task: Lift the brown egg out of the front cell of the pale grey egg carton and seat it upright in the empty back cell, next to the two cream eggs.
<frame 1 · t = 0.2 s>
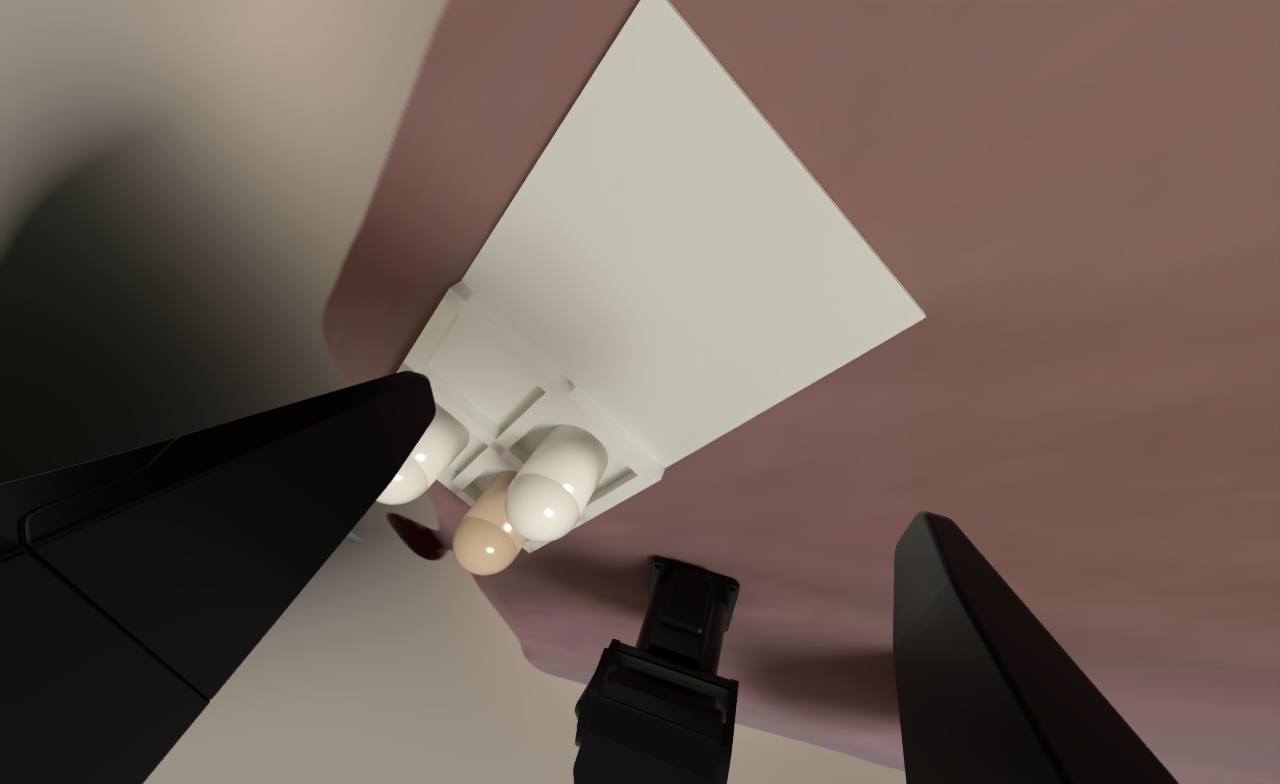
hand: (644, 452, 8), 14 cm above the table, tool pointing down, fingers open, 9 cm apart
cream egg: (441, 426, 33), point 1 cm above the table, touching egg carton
brown egg: (521, 492, 34), point 1 cm above the table, touching egg carton
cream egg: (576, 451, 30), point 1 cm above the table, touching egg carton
egg carton: (510, 433, 32), on the table
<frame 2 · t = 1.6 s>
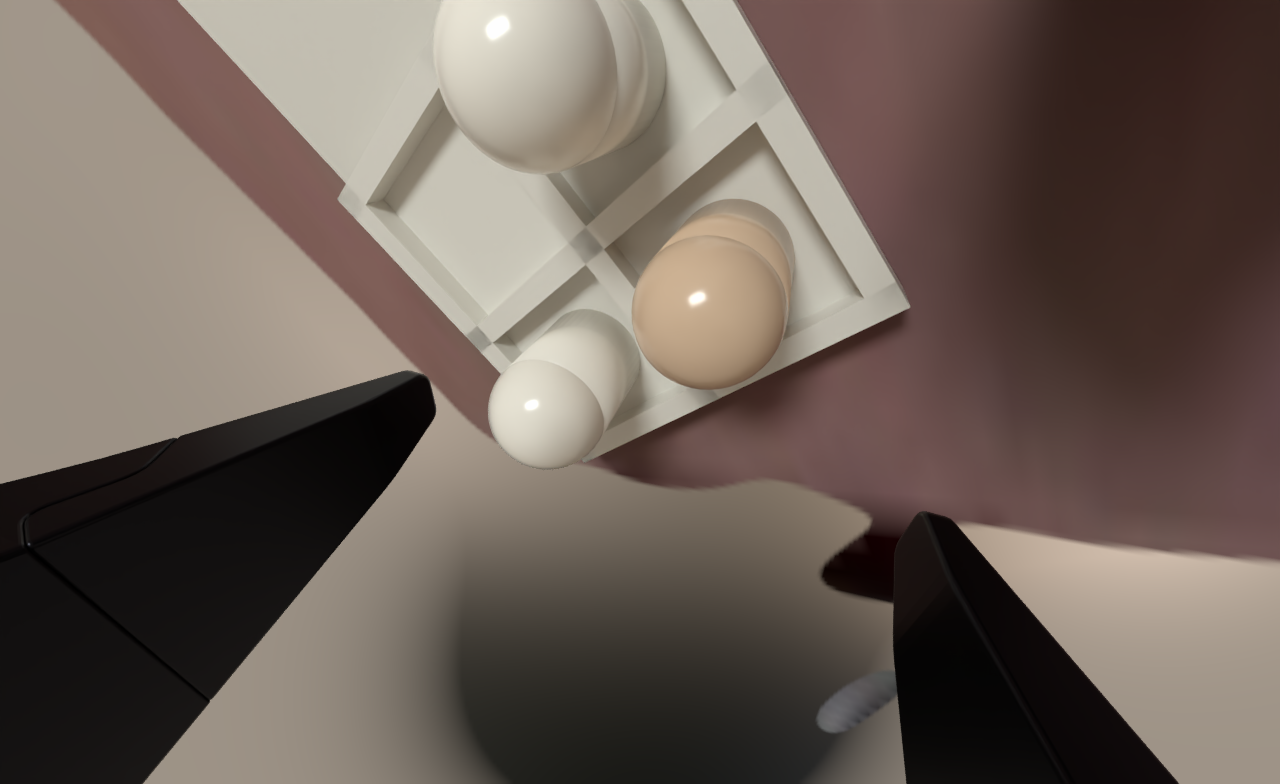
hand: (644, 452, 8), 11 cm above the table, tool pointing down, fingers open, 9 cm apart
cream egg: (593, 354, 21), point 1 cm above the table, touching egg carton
brown egg: (730, 263, 17), point 1 cm above the table, touching egg carton
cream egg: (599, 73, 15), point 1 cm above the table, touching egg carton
egg carton: (601, 234, 18), on the table
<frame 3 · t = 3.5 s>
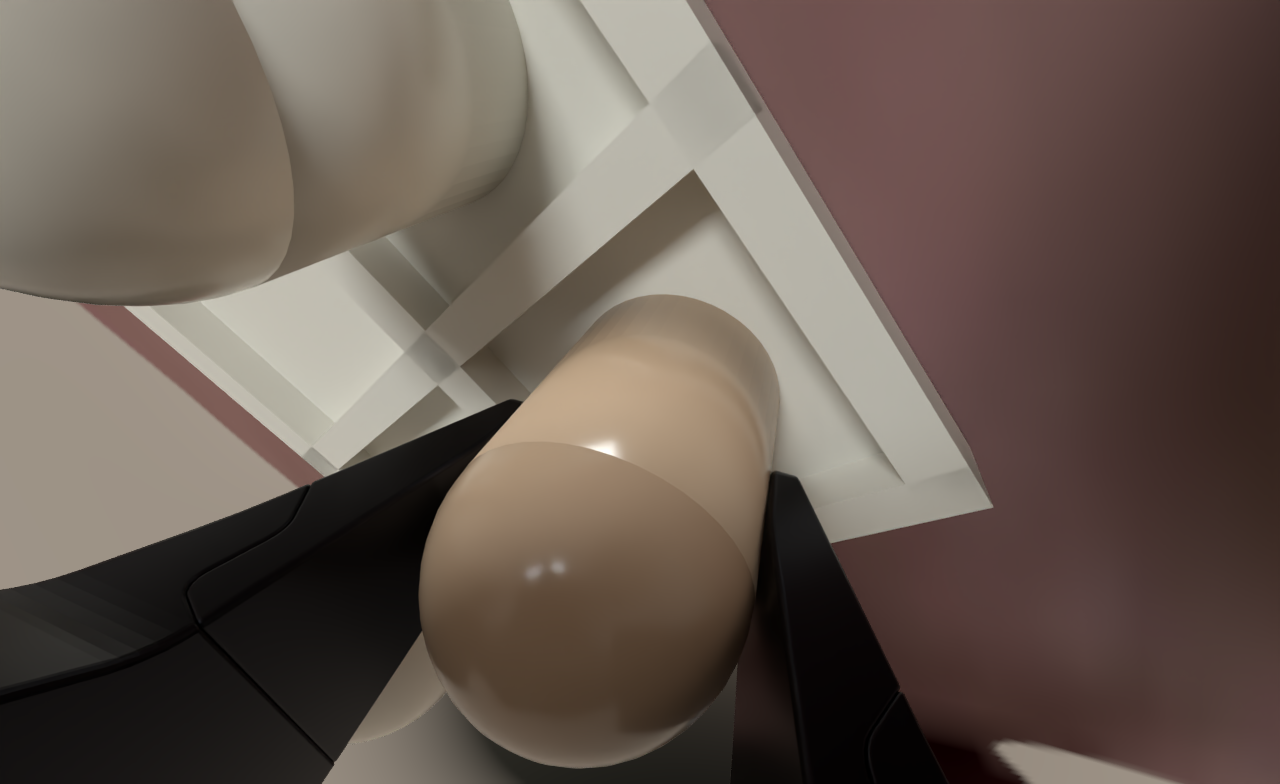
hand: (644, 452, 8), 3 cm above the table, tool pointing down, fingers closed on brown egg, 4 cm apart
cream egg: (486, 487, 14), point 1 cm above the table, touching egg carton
brown egg: (672, 391, 10), point 1 cm above the table, touching egg carton, gripper
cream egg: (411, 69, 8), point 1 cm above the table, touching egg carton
egg carton: (474, 327, 11), on the table
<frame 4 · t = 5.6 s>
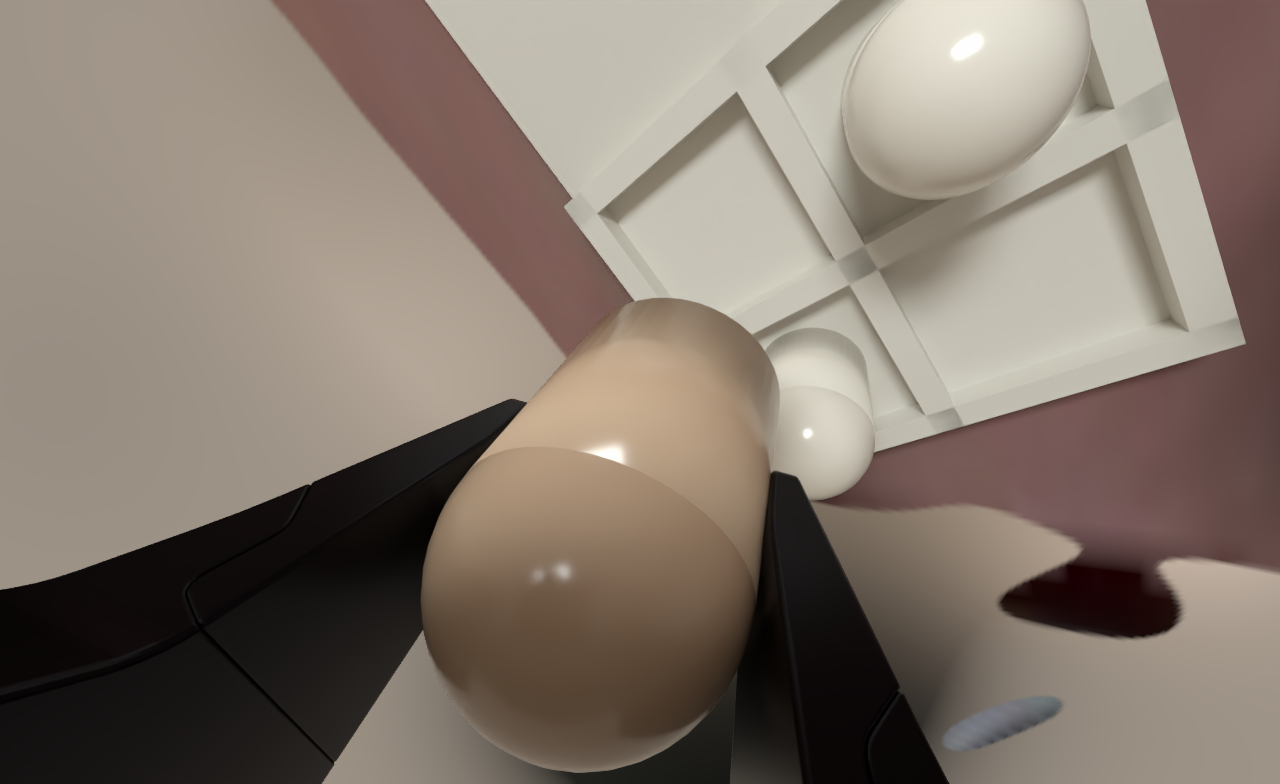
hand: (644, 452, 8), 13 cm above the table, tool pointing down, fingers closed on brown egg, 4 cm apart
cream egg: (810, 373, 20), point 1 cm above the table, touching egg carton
brown egg: (673, 394, 10), point 11 cm above the table, touching gripper
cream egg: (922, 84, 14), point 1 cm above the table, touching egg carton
egg carton: (855, 251, 17), on the table
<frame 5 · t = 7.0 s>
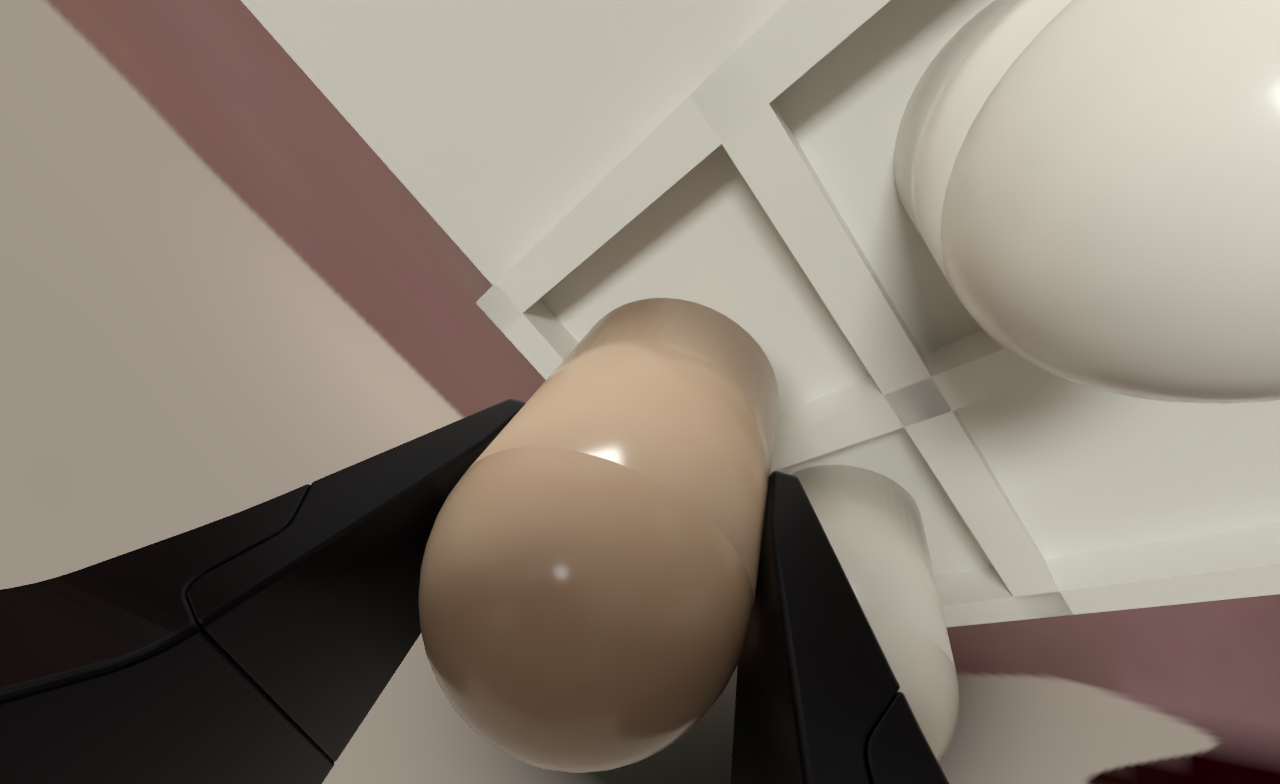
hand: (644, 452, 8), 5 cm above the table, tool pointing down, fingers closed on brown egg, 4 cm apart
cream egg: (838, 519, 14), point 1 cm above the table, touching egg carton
brown egg: (672, 394, 10), point 3 cm above the table, touching gripper
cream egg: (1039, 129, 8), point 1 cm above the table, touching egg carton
egg carton: (906, 366, 11), on the table
when the fingers open (4 cm above the table, at t = 8.1 s): brown egg drops 1 cm, resting on egg carton.
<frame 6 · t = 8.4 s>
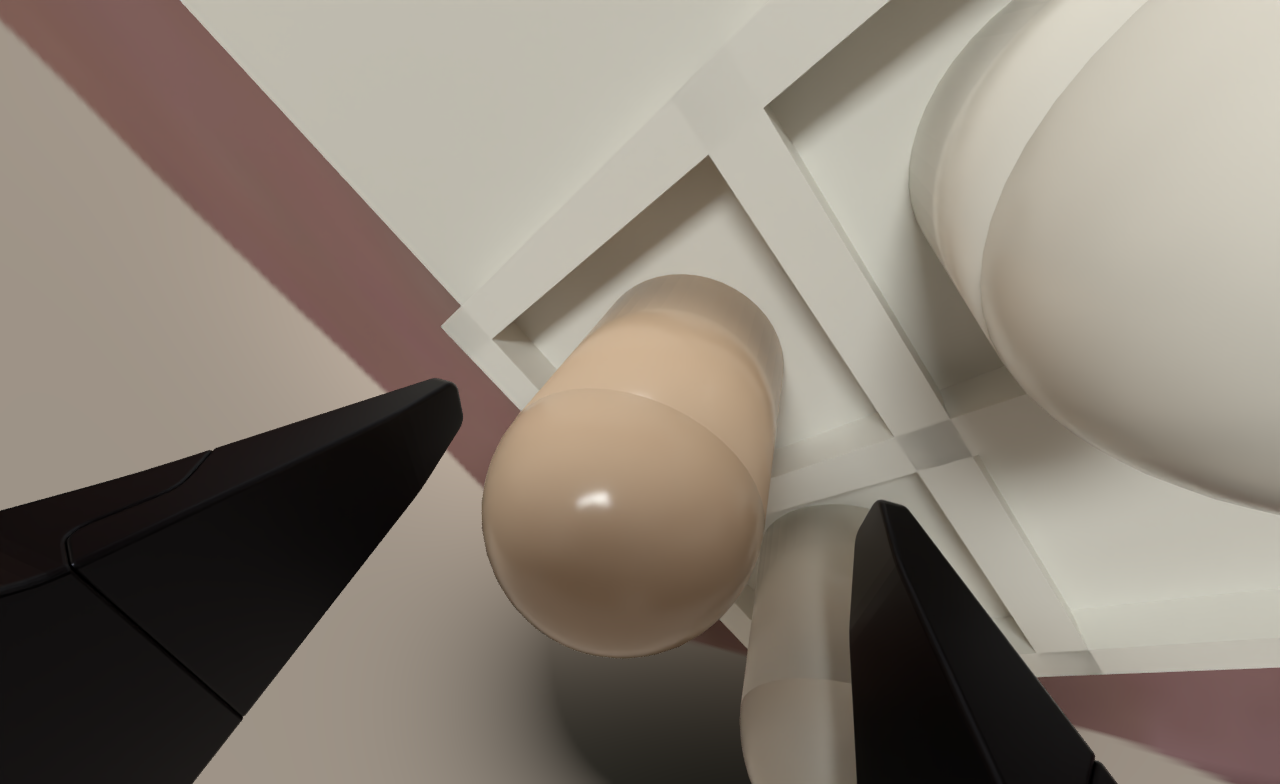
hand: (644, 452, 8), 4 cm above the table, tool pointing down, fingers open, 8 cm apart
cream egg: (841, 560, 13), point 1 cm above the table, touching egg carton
brown egg: (686, 364, 11), point 1 cm above the table, touching egg carton
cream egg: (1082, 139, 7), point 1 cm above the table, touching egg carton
egg carton: (919, 400, 10), on the table
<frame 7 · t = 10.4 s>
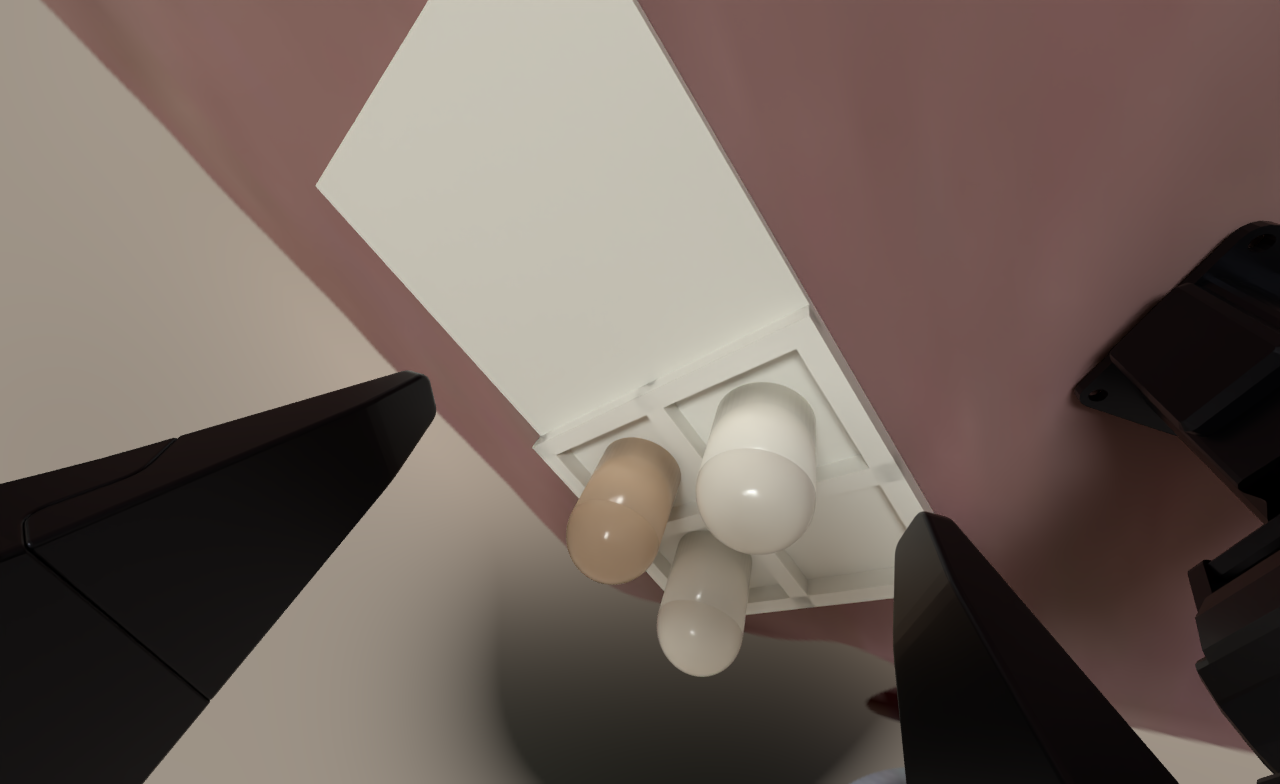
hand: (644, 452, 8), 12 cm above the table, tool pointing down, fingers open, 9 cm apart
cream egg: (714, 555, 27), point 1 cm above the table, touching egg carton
brown egg: (641, 469, 25), point 1 cm above the table, touching egg carton
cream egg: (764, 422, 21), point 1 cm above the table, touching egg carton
egg carton: (737, 489, 24), on the table
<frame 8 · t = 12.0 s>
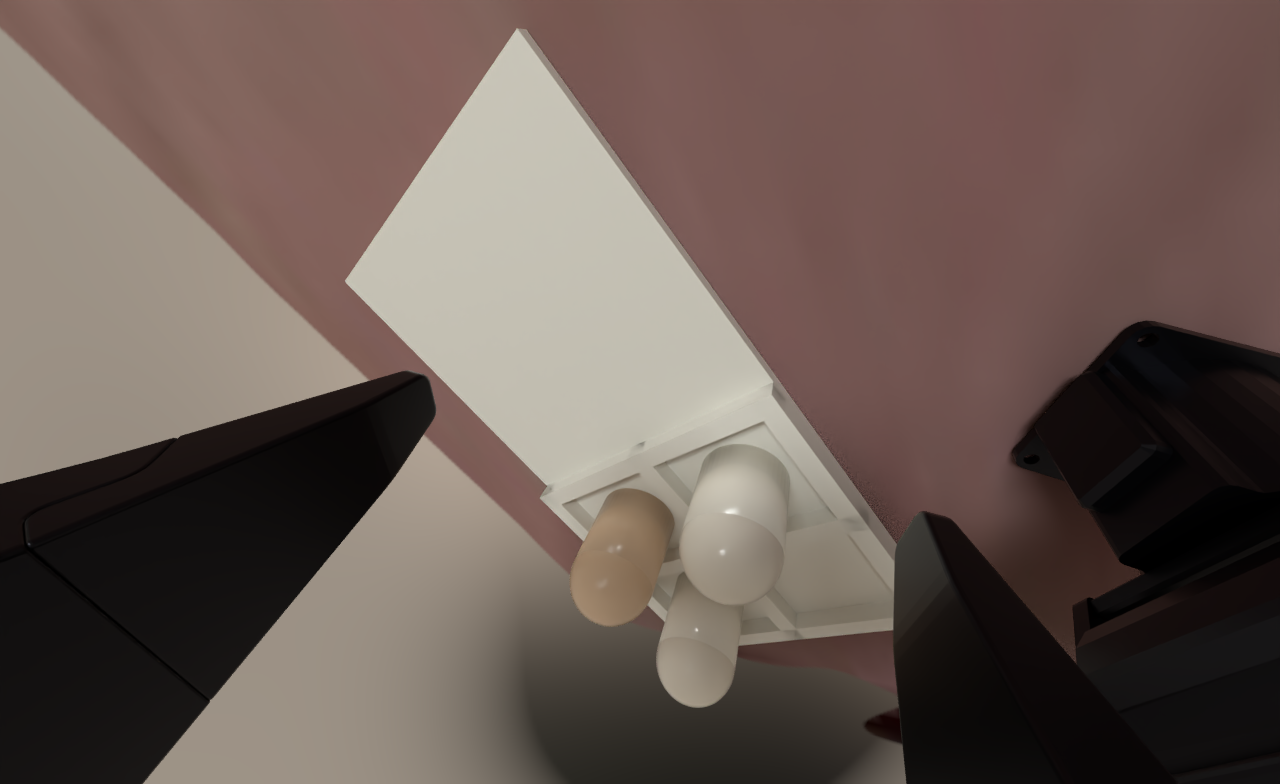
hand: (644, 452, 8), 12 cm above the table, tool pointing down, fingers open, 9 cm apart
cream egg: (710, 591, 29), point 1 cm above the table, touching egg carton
brown egg: (638, 515, 27), point 1 cm above the table, touching egg carton
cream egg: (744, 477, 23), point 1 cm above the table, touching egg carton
egg carton: (726, 533, 27), on the table
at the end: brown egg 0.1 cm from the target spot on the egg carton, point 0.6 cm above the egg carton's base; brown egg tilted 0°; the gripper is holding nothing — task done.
